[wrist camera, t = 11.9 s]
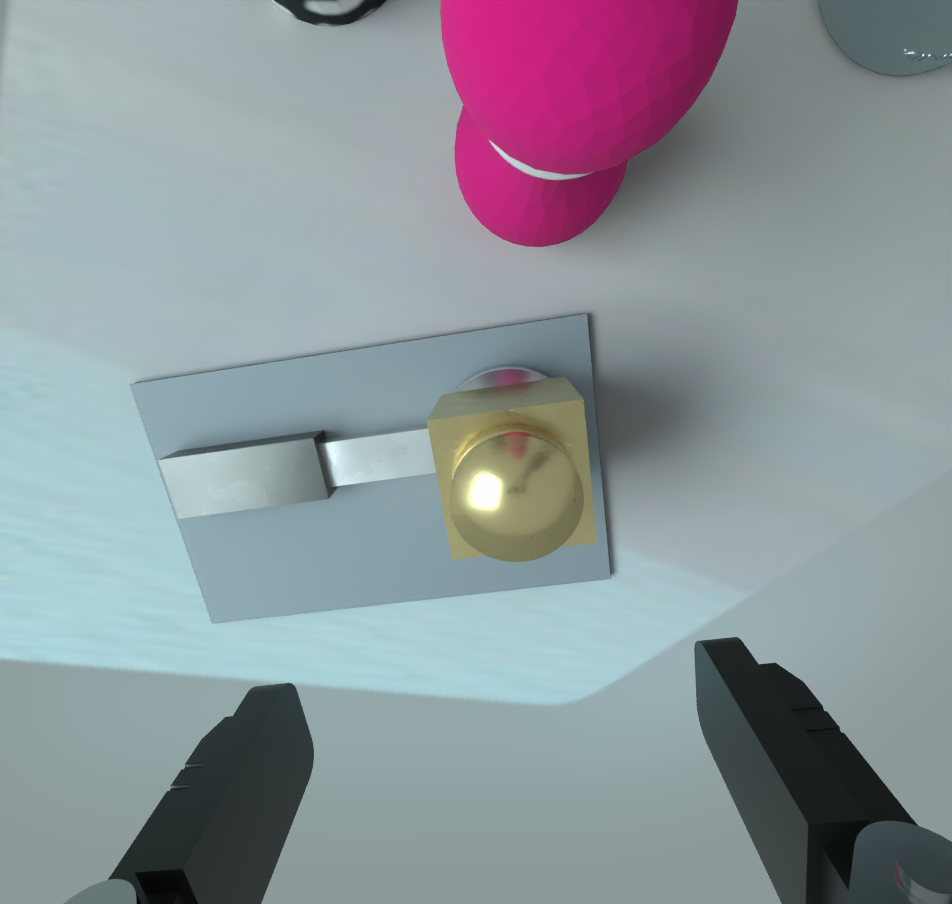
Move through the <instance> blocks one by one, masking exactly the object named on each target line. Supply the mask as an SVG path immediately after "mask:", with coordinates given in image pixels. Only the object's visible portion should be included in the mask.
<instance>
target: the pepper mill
mask: <svg viewBox="0 0 952 904" xmlns="http://www.w3.org/2000/svg"><path fill="white" fill-rule="evenodd" d="M737 4H738V0H441V11H440V12H441V27H442V40H443V45H444V50H445V55H446V59H447V64H448V67H449V70H450V73H451V76H452V79H453V82H454V85H455V87H456V90H457V92H458V94H459V96H460V98H461V100H462V102H463V104H464V106H463V108H462V111H461V115H460V118H459V121H458V124H457V131H456V140H455V166H456V174H457V178H458V183H459V187H460V189H461V192H462V194H463V197H464V199H465V201H466V203H467V205H468V206H469V208H470V210H471V211H472V213H473V214H474V215H475V217H476V218H477V219H478V220H479V221H480V223H481V224H482V225H484V226H485V227H486V228H487V229H488V230H489V231H491V232H492V233H494V234H495V235H497V236H499V237H500V238H502V239H504V240H507V241H509V242H512V243H514V244H518V245H523V246H533V247H544V246H549V245H555V244H559V243H561V242H564V241H567V240H570V239H571V238H573V237H575V236H577V235H579V234H580V233H582V232H583V231H584V230H586V229H587V228H588V227H589V226H591V225H592V224H593V223H594V222H595V221H596V220H597V219H598V218H599V217H600V215H601V214H602V213H603V212H604V211H605V209H606V208H607V207H608V205H609V204H610V202H611V200H612V199H613V197H614V195H615V194H616V192H617V190H618V188H619V186H620V184H621V181H622V179H623V177H624V173H625V169H626V165H627V162H628V159H629V158H631V157H633V156H635V155H636V154H638V153H640V152H641V151H643V150H645V149H647V148H648V147H650V146H652V145H653V144H655V143H656V142H658V141H659V140H660V139H661V138H662V137H663V136H665V135H666V134H667V133H668V132H669V131H670V130H671V129H672V128H673V126H674V125H675V124H676V123H677V122H678V121H679V120H680V119H681V118H682V117H683V116H684V115H685V113H686V112H687V111H688V110H689V108H690V107H691V106H692V105H693V103H694V102H695V100H696V99H697V97H698V96H699V94H700V93H701V92H702V90H703V89H704V87H705V86H706V84H707V83H708V81H709V79H710V77H711V75H712V73H713V71H714V69H715V67H716V65H717V63H718V61H719V59H720V57H721V55H722V52H723V50H724V47H725V44H726V41H727V39H728V36H729V33H730V30H731V27H732V25H733V22H734V19H735V16H736V10H737Z"/></svg>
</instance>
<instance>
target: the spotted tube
mask: <svg viewBox="0 0 952 904" xmlns="http://www.w3.org/2000/svg"><path fill="white" fill-rule="evenodd" d="M271 1H273V2H274V3H275V4H276V5H277V6H278V7H279V8H280V9H281V10H283V11H285V12H286V13H288V14H290V15H292V16H293V17H295V18H297V19H299V20H302V21H305V22H308V23H311V24H314V25H324V26H336V25H343V24H349V23H351V22H354V21H356V20H359V19H361V18H364V17H365V16H367V15H368V14H370V13H371V12H373V11H374V10H375V9H377V8H378V7H379V6H380V5H381V4H382V3H383V2H384V1H385V0H271Z"/></svg>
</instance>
